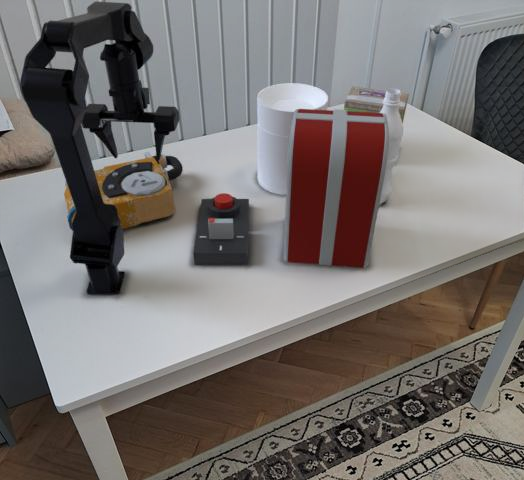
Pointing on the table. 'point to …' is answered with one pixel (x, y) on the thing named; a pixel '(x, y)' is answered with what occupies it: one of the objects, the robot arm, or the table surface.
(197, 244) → the panel
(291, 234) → the wrapped gift box
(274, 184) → the canister
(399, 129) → the water bottle
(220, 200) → the power button
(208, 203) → the button block
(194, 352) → the table surface
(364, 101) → the tea box
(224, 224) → the grey rectangular block
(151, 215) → the device
